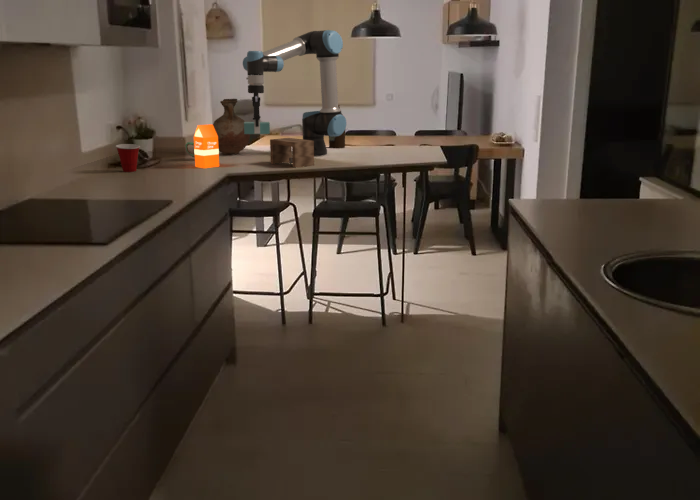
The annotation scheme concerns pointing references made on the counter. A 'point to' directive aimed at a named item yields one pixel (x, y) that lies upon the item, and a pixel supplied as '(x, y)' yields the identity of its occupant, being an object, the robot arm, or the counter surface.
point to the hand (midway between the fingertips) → (257, 132)
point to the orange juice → (206, 147)
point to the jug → (230, 130)
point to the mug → (187, 148)
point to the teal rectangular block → (250, 128)
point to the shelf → (292, 151)
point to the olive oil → (337, 140)
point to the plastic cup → (128, 156)
